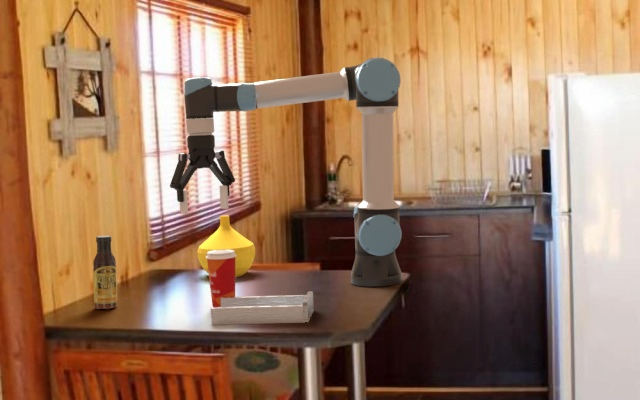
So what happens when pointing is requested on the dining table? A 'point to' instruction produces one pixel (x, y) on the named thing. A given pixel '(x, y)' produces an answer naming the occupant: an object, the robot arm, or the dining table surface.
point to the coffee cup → (221, 274)
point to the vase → (228, 247)
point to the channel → (263, 309)
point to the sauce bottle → (104, 275)
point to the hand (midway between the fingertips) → (204, 211)
